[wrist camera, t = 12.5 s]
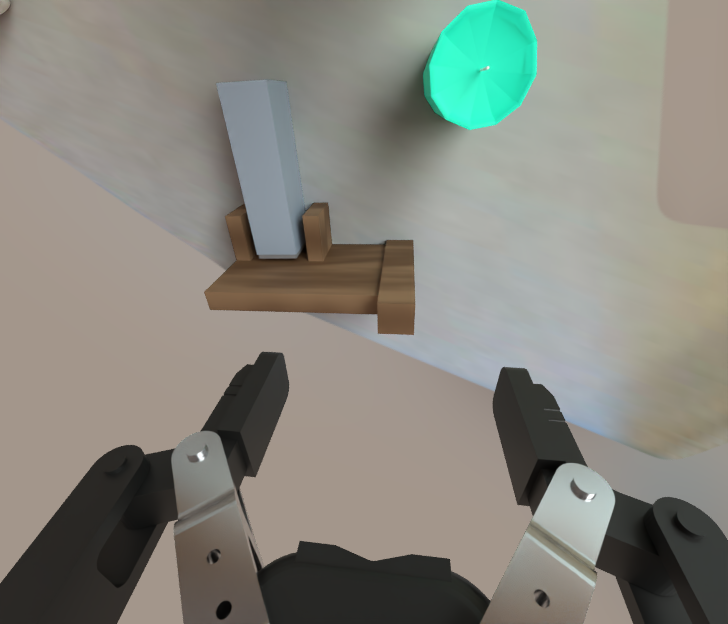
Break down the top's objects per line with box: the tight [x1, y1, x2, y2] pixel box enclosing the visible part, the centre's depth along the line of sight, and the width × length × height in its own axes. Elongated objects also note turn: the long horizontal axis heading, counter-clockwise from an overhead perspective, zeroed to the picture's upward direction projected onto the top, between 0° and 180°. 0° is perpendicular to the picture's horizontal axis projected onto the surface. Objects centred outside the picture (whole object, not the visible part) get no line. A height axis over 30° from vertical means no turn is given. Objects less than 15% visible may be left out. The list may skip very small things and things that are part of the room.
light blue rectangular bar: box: [216, 79, 306, 259], centre depth 31 cm, size 14×4×5 cm, turn 3°
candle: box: [423, 0, 537, 130], centre depth 23 cm, size 6×6×12 cm
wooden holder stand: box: [204, 203, 415, 335], centre depth 31 cm, size 7×18×13 cm, turn 92°
